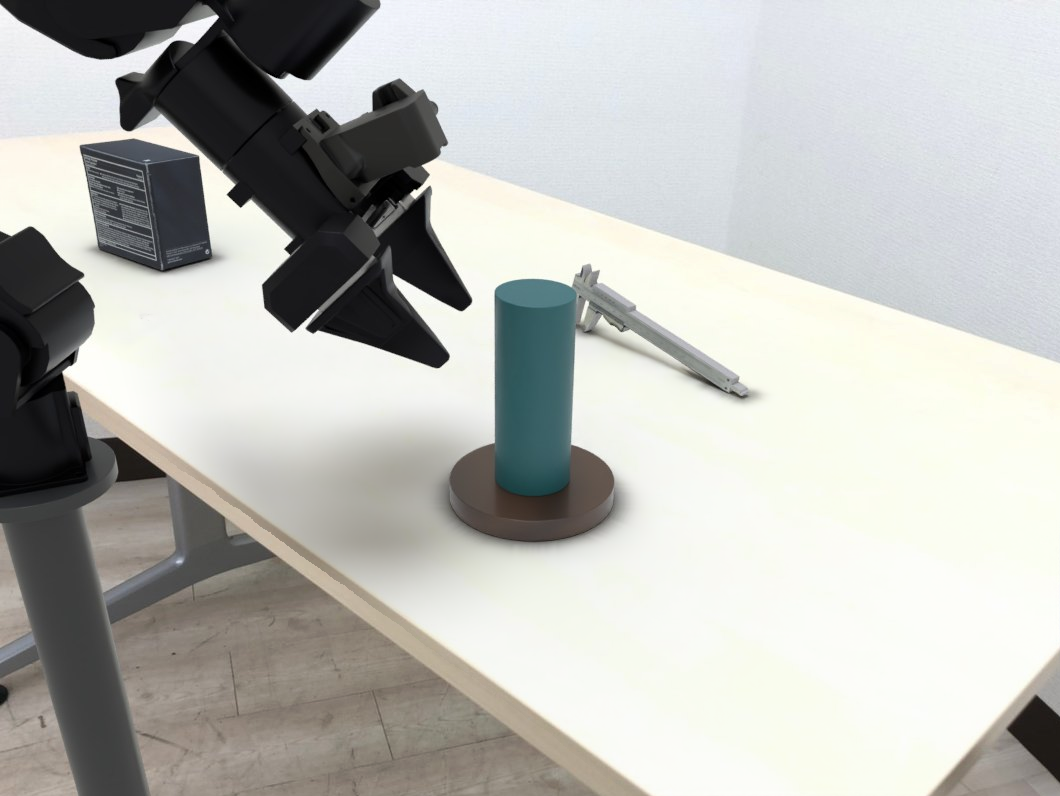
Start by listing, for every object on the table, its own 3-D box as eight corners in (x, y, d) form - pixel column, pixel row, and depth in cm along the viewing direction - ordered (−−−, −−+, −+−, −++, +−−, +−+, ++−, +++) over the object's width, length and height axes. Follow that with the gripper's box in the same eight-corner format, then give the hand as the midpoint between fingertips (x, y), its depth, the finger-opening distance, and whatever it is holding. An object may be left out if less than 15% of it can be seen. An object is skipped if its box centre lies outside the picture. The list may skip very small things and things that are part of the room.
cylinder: (479, 481, 69) (477, 294, 62) (521, 452, 73) (524, 273, 66) (543, 504, 67) (548, 313, 60) (583, 472, 71) (592, 290, 64)
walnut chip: (488, 557, 64) (488, 536, 63) (426, 474, 72) (425, 456, 71) (643, 518, 69) (644, 499, 68) (568, 445, 77) (569, 427, 76)
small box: (218, 257, 107) (203, 153, 102) (162, 272, 102) (144, 164, 97) (151, 235, 112) (135, 134, 106) (95, 249, 107) (75, 144, 102)
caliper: (568, 326, 98) (570, 261, 94) (576, 323, 98) (579, 259, 95) (742, 399, 86) (751, 328, 83) (749, 395, 87) (759, 325, 84)
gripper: (305, 63, 48) (538, 306, 54) (390, 16, 64) (562, 207, 70) (158, 219, 52) (391, 431, 58) (274, 137, 68) (447, 309, 74)
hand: (456, 333), depth 65 cm, fingers open, 9 cm apart
